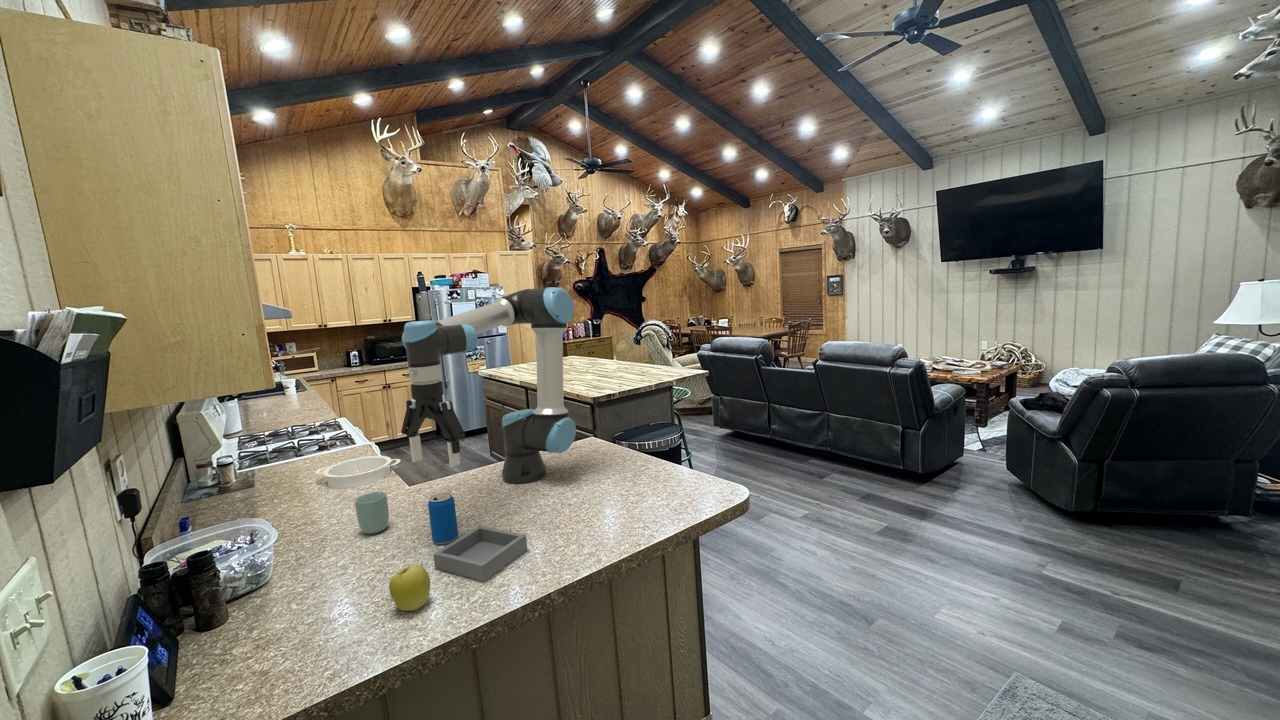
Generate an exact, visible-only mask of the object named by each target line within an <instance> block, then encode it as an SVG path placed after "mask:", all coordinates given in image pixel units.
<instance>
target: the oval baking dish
mask: <svg viewBox="0 0 1280 720" xmlns="http://www.w3.org/2000/svg"><path fill="white" fill-rule="evenodd" d="M392 461H395V462H394V463H391V462H392ZM400 462H401V459H400V458H396V459H395V458H394V459H392V458H391V457H389V456H385V455H369V456H362V457H355V458H350V459H348V460H344V461H340V462H337V463H335V464H333V465H329V466H323V467H320V468H319V469H316V470H315V471H314V472H315V474H317V475H318V474H319V475H323V476H325V477H326V480H327V485H328V487H330V488H332V489H348V488H349V489H350V488H357V487H362V486H367V485H370V484H372V483H373V484H374V483H376V482H378V481H380V480H383V479H385V478H387V477H388V476H389V475H390V474H391V468H390V467H391V466H395V465H398V464H399V463H400ZM370 469H371V470H370ZM322 470H323V472H321V471H322ZM364 470H369V471H365V472H360V473H355V474H350V473H353V472H357V471H364ZM347 474H348V475H347Z"/></svg>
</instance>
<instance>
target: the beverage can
mask: <svg viewBox="0 0 1280 720" xmlns="http://www.w3.org/2000/svg"><path fill="white" fill-rule="evenodd" d="M427 509H428V514H429V515H428V516H429V523H430V533H431V539H432V540H431V541H432V542H433V543H435V544H437V545H441V544H442V545H448V544H450V542H451V543H452V542H454V541H455V540H457V539H458V538H459V528H458V520H457V512H456V510H457V509H456V504H455V498H454V496H453V493H451V492H440V493H436V494H433V495H431V496H430V497H429V498H428V503H427ZM447 543H448V544H447Z"/></svg>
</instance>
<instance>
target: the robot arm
mask: <svg viewBox="0 0 1280 720" xmlns="http://www.w3.org/2000/svg"><path fill="white" fill-rule="evenodd" d="M574 316H575V304H574V301H573V298H572V296H571V294H569V292H568V291H567V290H566V289H564V288H562V287H556V286H555V287H554V286H553V287H552V286H551V287H539V288H526V289H522V290H518V291H515V292H512V293H510V294H507V295H504V296H502V297H498V298H496V299H495V300H494V301H493V302H492V303H490V304H487V305H483V306H480V307H477V308H474V309H470V310H468V311H467V310H466V311H464V312H461V313H458V314H455V315H452V316H449V317H446V318H443V319H439V320H420V321H419V320H418V321H417V320H416V321H409V322H406V323H405V324H404V326H403V332H402V336H401V342H402V346H403V347H404V349H405V351H406V358H407V364H408V365H407V366H408V373H409V382H410V383H411V385H410V392H411V393H410V394H411V398H412V399H409V400H406V403H405V404H406V408H405V409H406V410H405V414H404V417H403V418H404V419H403V423H402V427H401V431H400V432H401V434H402V435H406V437H407V438H408V447H409V449H410V454H411V462H412V463H413V462H414V463H416V462H418V461H420V460H423V451H422V442H421V435H420V429H421V427H422V425H423V423H424V421H425V420H426V419H429V420H432V421H434V422H436V423H437V424H438V426H439V428H440V429H441V430H442V432H443V433H444V435H445V436H446V437H447V438H448V440H447V442H446V443H447V453H448V460H449V461H448V462H449V468H453V467H455V466H458V465H460V464H461V459H460V452H461V445H460V439H463V438H465V437H466V433H465V431H464V429H463V427H462V425H461V423H460V421H459V418H458V417H457V414H456V412H455V410H454V407H453V405H454V404H453V402H452V400H448V401H443V400H442V397H443V395H444V393H445V392H444V384H443V382H442V379H443V374H442V365H441V357H442V356H447V355H448V356H449V355H454V354H460V353H467V352H470V351H473V350H475V348H476V347H477V346H478V345H477V344H478V342H479V341H478V340H479V339H478V335H480V334H481V333H484V332H485V333H486V332H487V331H490V330H492V329H496V328H498V327H501V326H502V327H505V328H506V327H510V326H513V325H523V324H525V325H526V324H528V325H529V324H530V326H531V327H530V328H531V331H532V332H534V334H535V339H536V340H535V343H536V345H535V346H536V392H537V394H536V397H537V399H536V400H537V402H536V403H537V407H536V408H535V409H534V408H525V409H520V410H516V411H512V412H509V413H506V414H504V415H503V417H502V419H501V424H502V425H501V429H502V430H501V431H502V437H503V438H502V439H503V444H504V445H503V446H504V455H505V459H504V462H503V467H502V471H501V479H502V481H503V482H505V483H507V484H513V485H514V484H516V485H519V484H520V485H521V484H527V483H532V482H536V481H539V480H541V479H542V478H544V477H545V476H546V475H547V473H548V472H547V466H546V464H545V463H544V460H543V458H542V454H541V452H547V453H549V454H554V453H555V454H561V453H565V452H566V451H568V450H569V449H570V447H571V446H572V445H573V443H574V441H575V438H576V435H577V434H576V433H577V427H576V423H575V422H574V420H573V419H572V418H570V417H569V410H568V409H567V408H566V407H565V406H564V405H565V404H564V402H565V401H564V346H563V345H564V342H563V341H564V339H563V337H564V336H563V335H564V333H565V332H566V331H568V323H570V322H571V321H572V320H573V317H574Z"/></svg>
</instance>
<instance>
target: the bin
mask: <svg viewBox="0 0 1280 720" xmlns="http://www.w3.org/2000/svg"><path fill="white" fill-rule="evenodd" d="M527 551H528V542H527V535H526V534H524V533H523V534H522V533H517V532H512V531H507V530H503V529H498V528H492V527H488V526H482V525H479V526H477V527H475V528H474V529H472V530H470V531H469V532H467V533H466V534H464V535H462V536H460V537H458V538H456V539H455V540H454V541H453V542H451V543H448V544H446V545H445V546H444V547H443V548H440V549H439V550H438V551H435V552H433V562H434V569H435V570H436V571H438V570H439V571H438V572H442V571H443V572H442V573H446V572H447V574H451V575H455V576H458V577H462V578H466V579H470V580H473V581H476V582H480V583H486V582H487V581H489V580H490V579H491V578H493V577H494V576H495V575H496V574H498V573H499V572H501V571H502V570H503V569H504V568H505V567H507V566H508V565H510V564H511V563H512V562H514V561H515V560H516V559H517V558H519V557H521V555H523V554H524V553H526V552H527Z"/></svg>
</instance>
